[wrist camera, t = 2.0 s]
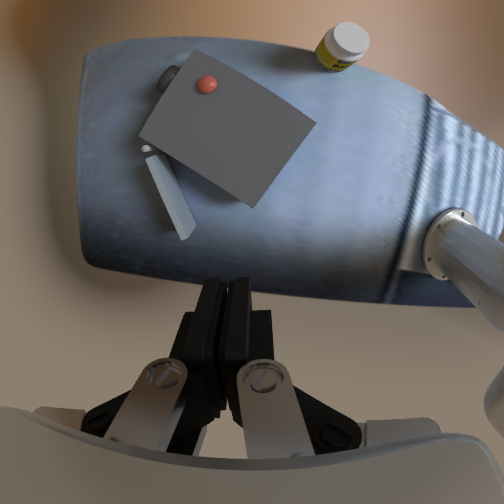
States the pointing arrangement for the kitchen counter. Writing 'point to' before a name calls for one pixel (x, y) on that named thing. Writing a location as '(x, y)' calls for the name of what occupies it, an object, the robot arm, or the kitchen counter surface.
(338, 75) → the kitchen counter surface
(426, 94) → the kitchen counter surface
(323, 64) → the supplement bottle
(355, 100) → the kitchen counter surface
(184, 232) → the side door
